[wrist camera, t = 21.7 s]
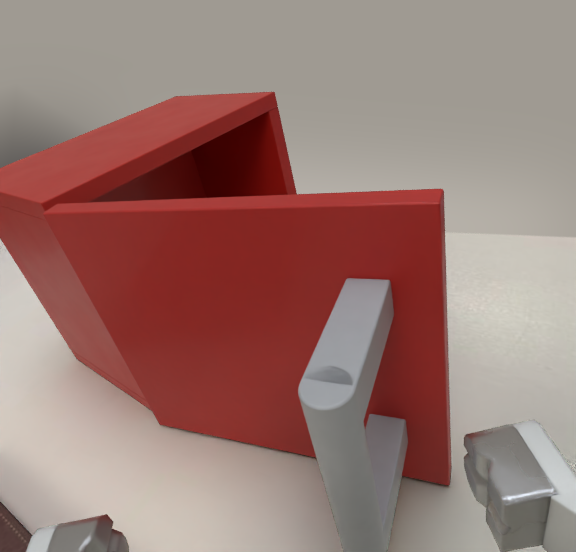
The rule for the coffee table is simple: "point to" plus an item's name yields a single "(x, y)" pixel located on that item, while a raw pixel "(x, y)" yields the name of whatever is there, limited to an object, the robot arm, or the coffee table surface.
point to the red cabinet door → (285, 329)
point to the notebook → (12, 533)
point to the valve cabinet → (135, 194)
